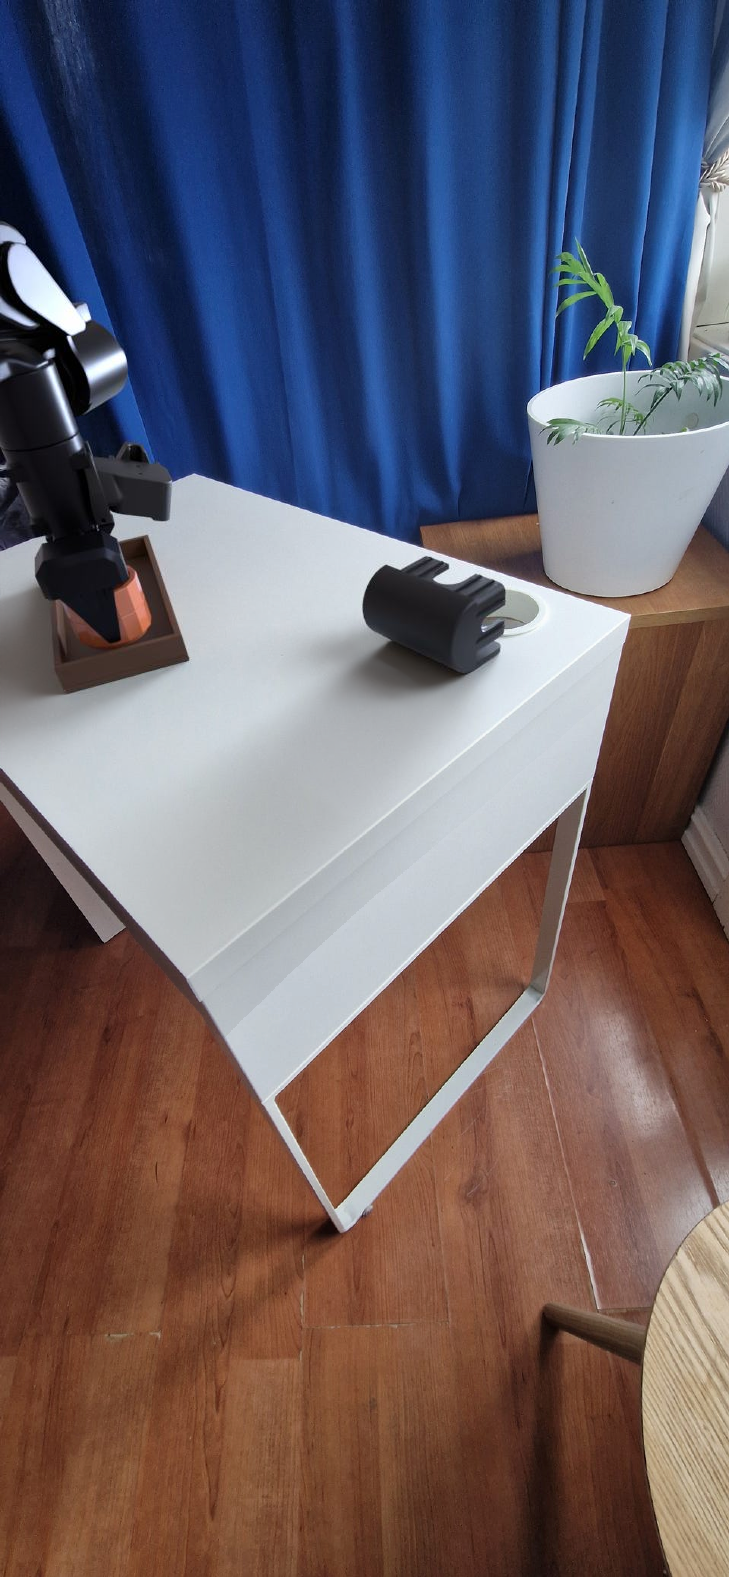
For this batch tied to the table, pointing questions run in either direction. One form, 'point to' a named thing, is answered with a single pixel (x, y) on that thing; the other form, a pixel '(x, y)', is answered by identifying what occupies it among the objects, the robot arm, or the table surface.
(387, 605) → the end cap
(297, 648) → the table surface
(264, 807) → the table surface
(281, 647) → the table surface
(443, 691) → the table surface
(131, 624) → the terracotta flower pot
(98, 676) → the tray
